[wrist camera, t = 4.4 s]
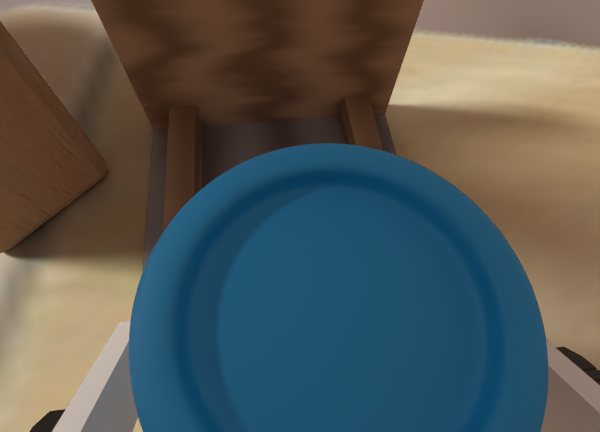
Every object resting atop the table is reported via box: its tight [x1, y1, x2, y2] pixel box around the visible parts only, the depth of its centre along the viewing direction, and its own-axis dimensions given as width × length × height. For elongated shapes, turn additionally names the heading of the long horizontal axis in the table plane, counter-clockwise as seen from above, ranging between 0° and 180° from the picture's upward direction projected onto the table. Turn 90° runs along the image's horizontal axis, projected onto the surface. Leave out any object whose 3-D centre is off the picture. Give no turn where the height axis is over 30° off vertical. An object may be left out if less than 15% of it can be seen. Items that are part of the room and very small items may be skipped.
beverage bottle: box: [129, 143, 548, 432], centre depth 15 cm, size 8×8×20 cm
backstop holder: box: [91, 0, 424, 271], centre depth 23 cm, size 20×16×16 cm
